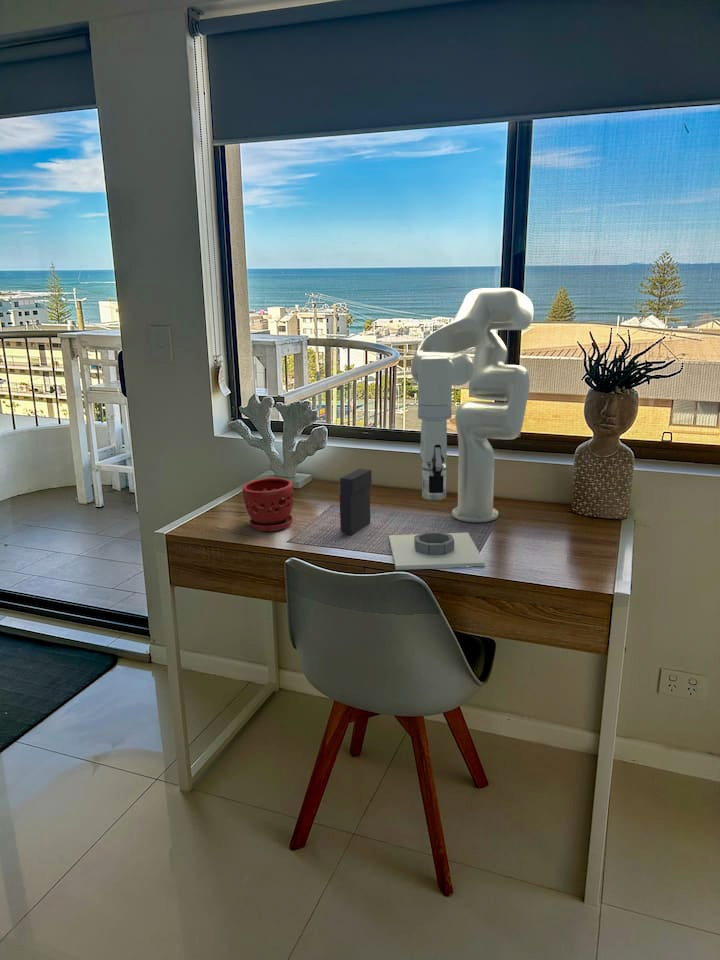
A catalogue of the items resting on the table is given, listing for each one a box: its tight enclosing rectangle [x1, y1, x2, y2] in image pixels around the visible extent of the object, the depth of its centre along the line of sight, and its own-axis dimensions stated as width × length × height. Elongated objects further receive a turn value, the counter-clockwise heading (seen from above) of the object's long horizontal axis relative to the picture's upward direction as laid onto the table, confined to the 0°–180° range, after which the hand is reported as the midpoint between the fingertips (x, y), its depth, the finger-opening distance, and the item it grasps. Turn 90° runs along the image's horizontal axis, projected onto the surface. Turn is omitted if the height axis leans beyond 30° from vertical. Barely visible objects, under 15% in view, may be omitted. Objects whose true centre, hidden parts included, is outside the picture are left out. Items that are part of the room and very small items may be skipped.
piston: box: [421, 460, 447, 501], centre depth 158 cm, size 6×6×8 cm
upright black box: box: [339, 468, 373, 536], centre depth 178 cm, size 11×4×15 cm, turn 152°
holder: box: [388, 531, 486, 571], centre depth 162 cm, size 20×20×4 cm
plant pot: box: [242, 477, 294, 532], centre depth 182 cm, size 13×13×12 cm
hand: (434, 488), depth 158 cm, fingers closed on piston, 5 cm apart
